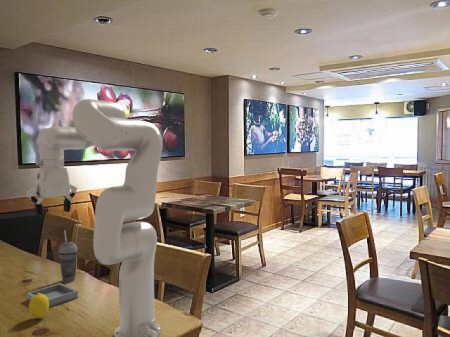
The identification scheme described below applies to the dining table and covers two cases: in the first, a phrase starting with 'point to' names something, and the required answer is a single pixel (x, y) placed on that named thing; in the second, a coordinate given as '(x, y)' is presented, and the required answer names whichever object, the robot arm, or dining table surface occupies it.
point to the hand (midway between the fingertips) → (53, 213)
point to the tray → (56, 294)
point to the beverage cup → (68, 260)
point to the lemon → (38, 305)
